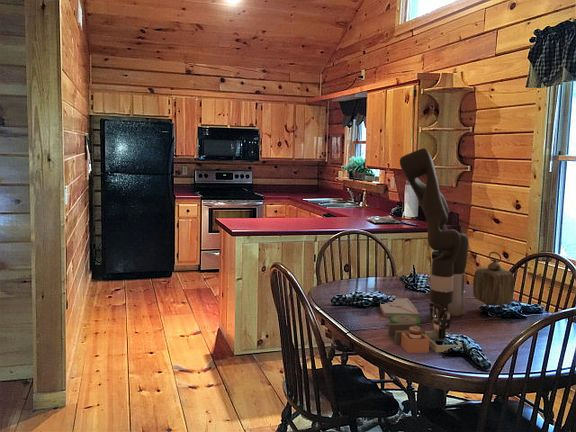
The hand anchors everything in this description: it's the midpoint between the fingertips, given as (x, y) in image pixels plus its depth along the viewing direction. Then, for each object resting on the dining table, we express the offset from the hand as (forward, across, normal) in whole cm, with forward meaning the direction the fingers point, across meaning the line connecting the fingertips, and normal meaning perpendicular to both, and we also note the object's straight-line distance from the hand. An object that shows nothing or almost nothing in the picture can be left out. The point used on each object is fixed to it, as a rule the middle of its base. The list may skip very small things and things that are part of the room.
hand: (438, 336), depth 184 cm
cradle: (+3, -5, -10) cm, 12 cm away
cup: (+3, +5, -10) cm, 12 cm away
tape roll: (+3, -21, -4) cm, 22 cm away
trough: (+3, +1, 0) cm, 3 cm away
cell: (+1, 0, 0) cm, 1 cm away
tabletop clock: (+3, -35, +38) cm, 51 cm away
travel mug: (+3, -62, +25) cm, 67 cm away
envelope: (+4, -42, -1) cm, 42 cm away
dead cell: (+2, +5, -10) cm, 12 cm away
